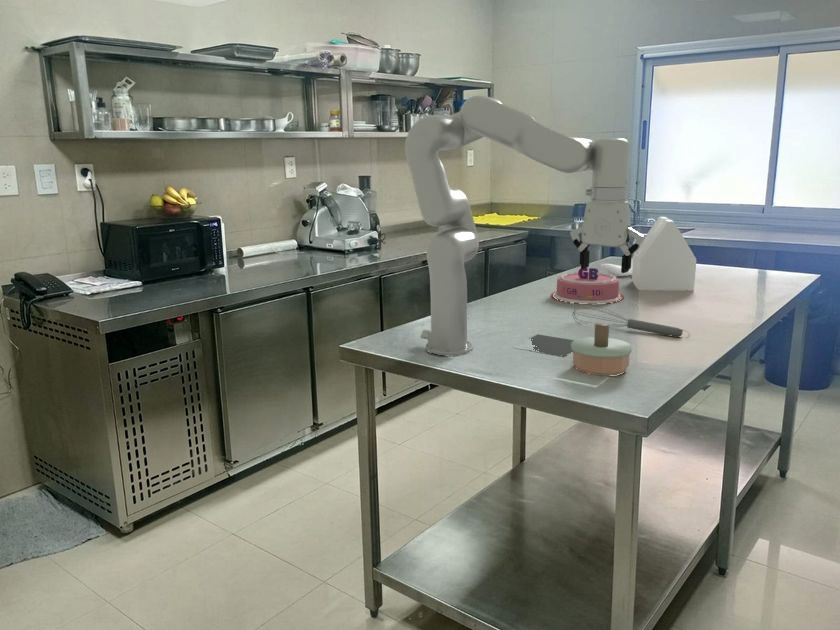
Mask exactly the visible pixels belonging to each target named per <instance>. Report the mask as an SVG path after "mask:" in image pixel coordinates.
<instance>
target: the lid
mask: <svg viewBox="0 0 840 630" xmlns="http://www.w3.org/2000/svg"><path fill="white" fill-rule="evenodd" d="M597 323H598V324H595V323H594V336H589V337H582V338H577V339H575V340H574V339H573V340H574V341H573V342H572V343H571V349H572V350H573V351H574V352H576V353H579V354H582V355H586V356H592V357H601V358H612V357H621V356H625V355H628V354H629V355H630V354H631V353H632V351H633V350H632V349H633V346H632V345H631V344H630V343H629V342H628V341H625V340H621V339H617V338H613V337H609V335H610V325H609V323H599V322H597Z"/></svg>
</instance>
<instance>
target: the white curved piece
mask: <svg viewBox="0 0 840 630" xmlns="http://www.w3.org/2000/svg"><path fill="white" fill-rule="evenodd" d="M635 241H636V239H635V238H634V240H633V242H632V245H634V243H635ZM600 267H601V269H603V271H605V272H606V273H607V274H611V275H612V276H615V277H627V276H630V275H631V276H632V270H633V257H632V259H631V268H630V269H629V271H628V272H626V273H622V272H621V265H618V264H612V263H601V265H600Z"/></svg>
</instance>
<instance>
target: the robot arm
mask: <svg viewBox="0 0 840 630" xmlns="http://www.w3.org/2000/svg"><path fill="white" fill-rule="evenodd" d="M482 138H485V139H489V140H492V141H493V142H496V143H498V144H499V145H502V146H504V147H507V148H509V149H512V150H513V151H515V152H517V153H519V154H521V155H524V156H526V157H527V158H528V159H531V160H534V161H535V162H538V163H540V164H541V165H544V166H547V167H549V168H552V169H554V170H556V171H559V172H561V173H566V174H572V173H578V172H579V173H580V172H586V171H592V173H591V174H592V176H591V177H592V178H591V179H592V180H591V187H590V188H589V189H586V190H585V195H586V196H590V199H591V200H587V202H586V206H585V210H584V215H583V221H582V225H581V226H580V227H578V228H575V229H573V230H571V231H570V232H569V235H570V236H571V237H570V238H571V240H572V243H573V245H574V246H575V247H576V248H577V251H578V252H579V265H580V268H581V269H584V268H590V267H589V266H590V250H589V248H590V247H591V246H598V247H608V248H610V247H611V248H620V250H621V252H622V253H623V255H621V265H620V266H621V272H622V273H626V272H628V271H629V269H630V268H631V259H632V258H633V253H634V252H635V251H636V250H637V249H639V248H640V246H641V244H642V243H643V241H644V239H645V236H646V235H644V234H642V233H640V232H638V231H637V230H635V229H633V228H632V227H631V226H632V225H631V212H630V204H629V201H626V199H627V185H628V184H627V183H628V168H629V153H630V152H629V151H630V144H629V142H628V140H627V139H625V138H619V137H617V138H611V137H610V138H599V139H594V138H593V139H591V138H584V137H571V136H568V135H566V134H563V133H561V132H558V131H556V130H554V129H551V128H549V127H546V126H544V125H542V124H541V123H539V122H537V120H536V119H535V118H534V117H533V116H532V115H531V114H528V113H526V112H523V111H521V110H518V109H516V108H513V107H511V106H508V105H506V104H503V103H502V102H501V101H500V100H499V99H497V98H496V97H492V96H485V95H473V96H470V97H469V98H467V99H466V100H465V101H464V102H463V103H462V104H461V106H460V109H459V111H458V112H455V113H454V114H451V115H444V114H443V115H442V114H431V115H430V114H429V115H425V116H423V117H422V118H419V119H418V120H416V122H415V123H413V125H412V126H411V128H410V129H409V131H408V132H407V136H406V138H405V145H404V152H405V153H404V154H405V157H406V158H405V159H406V162H407V164H408V168H409V171H410V175H411V179H412V182H413V186H414V190H415V194H416V199H417V203H418V207H419V211H420V213H421V216H422V219H423V221H424V222H425V223H426V224H427V225H428V226H431V227H436V228H437V227H441V231H440V232H438V233H436V234H434V235H433V237H432V238H430V240H429V242H428V244H427V247H426V261H427V266H428V273H429V285H430V286H429V290H430V291H429V292H430V330H428V329H423V330H422V331H421V334H420V338H421V339H422V340H427V343H426V344H425V351H426V350H427V351H429V352H431V353H434V354H438V355H437V356H439V355H456V356H460V355H459V354H463V355H465V354H464V353H467V354H469V353H471V352H472V351H474V344H473V343H472V342H470V341H468V286H467V285H468V282H467V281H468V279H467V275H466V274H467V273H466V269H465V263H467V262H469V261H471V260H472V259H474V258H475V257H476V255H477V253H478V251H479V246H480V242H479V241H480V240H479V236H478V235H479V234H478V231H477V227H476V224H475V221H474V216H473V212H472V209H471V204H470V201H469V200H468V198H467V196H466V194H465V193H464V192H463V191H462V190H461V189H459V188H457V187H455V186H450V185H449V182H448V178H447V173H446V169H445V167H444V165H443V163H442V161H441V159H440V157H439V152H440V151H453V150H456V149H460V148H462V147H465V146H467V145H469V144H471V143H473V142H476V141H478V140H481V139H482ZM580 234H581V238H580V236H579V235H580ZM631 237H632V238H634V240H635V239H636V241H635V243H634V244H632V245H630V241H631ZM427 351H426V352H427ZM470 351H471V352H470ZM468 352H469V353H468ZM431 353H430V354H431ZM434 354H433V355H434Z"/></svg>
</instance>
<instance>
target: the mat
mask: <svg viewBox="0 0 840 630" xmlns="http://www.w3.org/2000/svg"><path fill="white" fill-rule="evenodd" d="M530 338H531V341H532V345H535V347H533V348H534V349H535V351H536V350H537V351H539V352H543V353H545V354H544V355H549V354H550V355H549V356H554V355H556V356H555V357H560V356H561V355H562V357H561V358H565V357H567V356H568V355H567V354H569V353H570V354H572V353H573V350H572V349H571V343H572V342H573V341H574V339H571V338H570V339H569V338H561V337H557V336H552V335H545V334H539V333H538V334H536V335H534V336H532V337H529V338H528V339H530ZM532 339H533V340H532ZM536 346H537V347H536ZM534 349H533V350H534ZM538 349H539V350H538ZM571 352H572V353H571ZM543 353H542V354H543ZM570 354H569V355H570Z"/></svg>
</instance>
